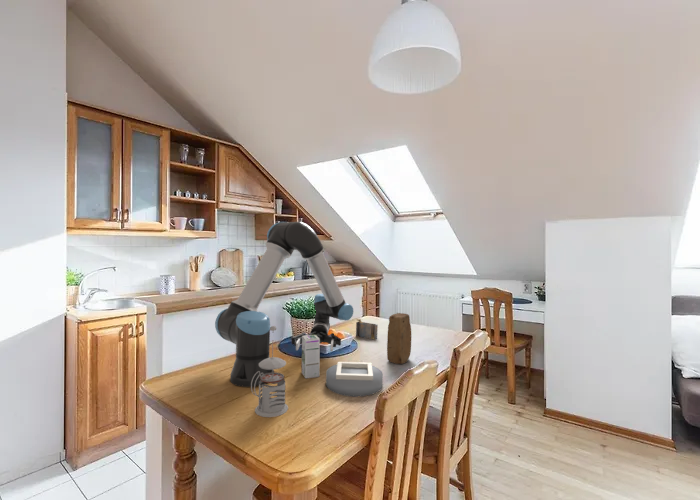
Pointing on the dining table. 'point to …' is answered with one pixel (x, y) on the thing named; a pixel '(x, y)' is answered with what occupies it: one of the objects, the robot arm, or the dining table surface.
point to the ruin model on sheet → (366, 329)
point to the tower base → (354, 379)
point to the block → (399, 338)
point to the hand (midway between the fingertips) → (314, 347)
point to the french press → (271, 388)
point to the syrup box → (310, 356)
